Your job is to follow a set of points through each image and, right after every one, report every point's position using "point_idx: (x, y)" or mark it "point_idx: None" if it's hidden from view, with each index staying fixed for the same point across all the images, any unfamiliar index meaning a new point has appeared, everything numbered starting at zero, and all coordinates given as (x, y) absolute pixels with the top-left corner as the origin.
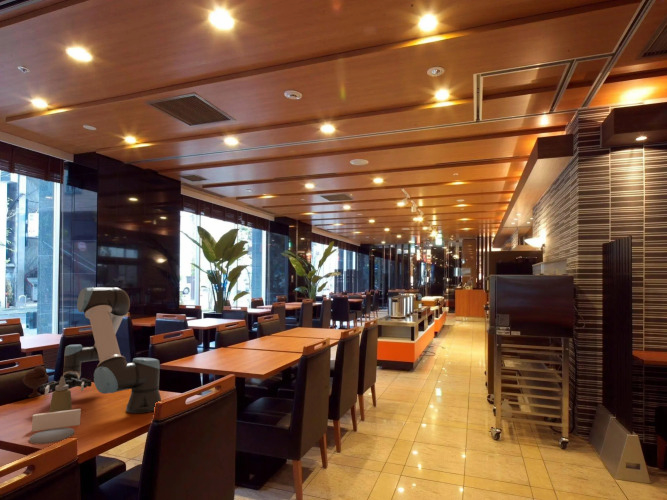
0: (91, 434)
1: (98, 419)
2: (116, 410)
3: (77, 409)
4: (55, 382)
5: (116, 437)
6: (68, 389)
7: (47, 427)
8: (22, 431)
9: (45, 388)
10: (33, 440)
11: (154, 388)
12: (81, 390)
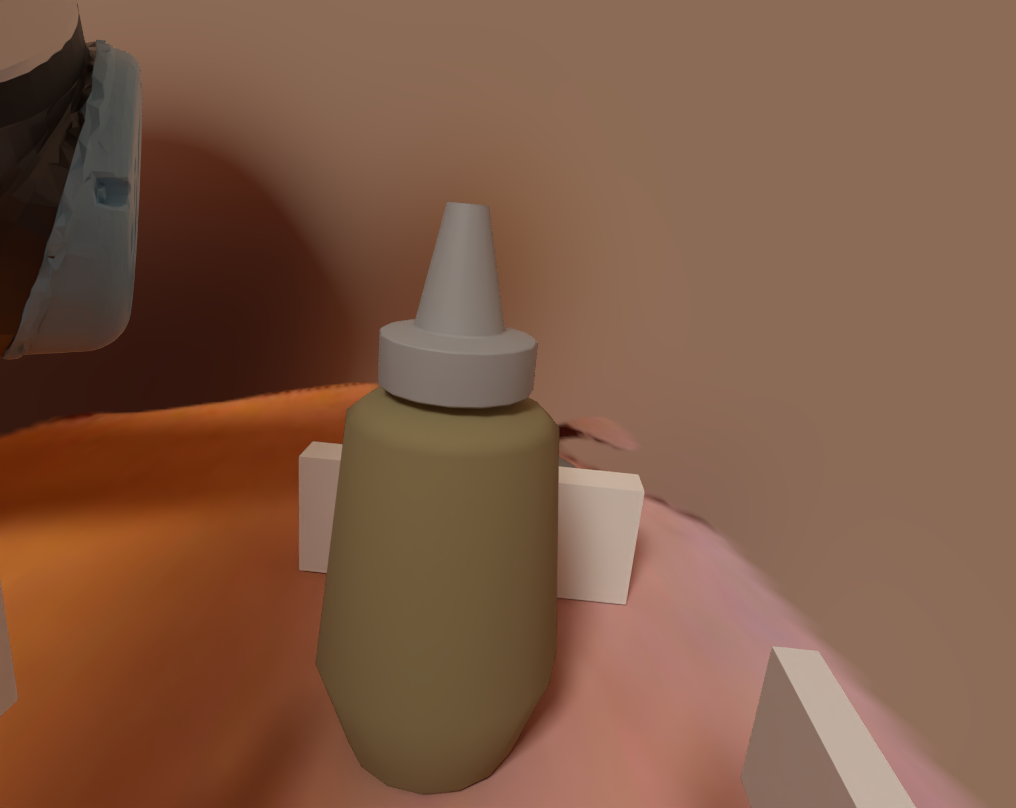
0: (308, 443)
1: (140, 581)
2: None
3: (327, 452)
4: None
5: (238, 400)
6: (370, 403)
7: None
8: (692, 611)
9: (821, 665)
10: (561, 460)
11: None
12: (3, 683)
